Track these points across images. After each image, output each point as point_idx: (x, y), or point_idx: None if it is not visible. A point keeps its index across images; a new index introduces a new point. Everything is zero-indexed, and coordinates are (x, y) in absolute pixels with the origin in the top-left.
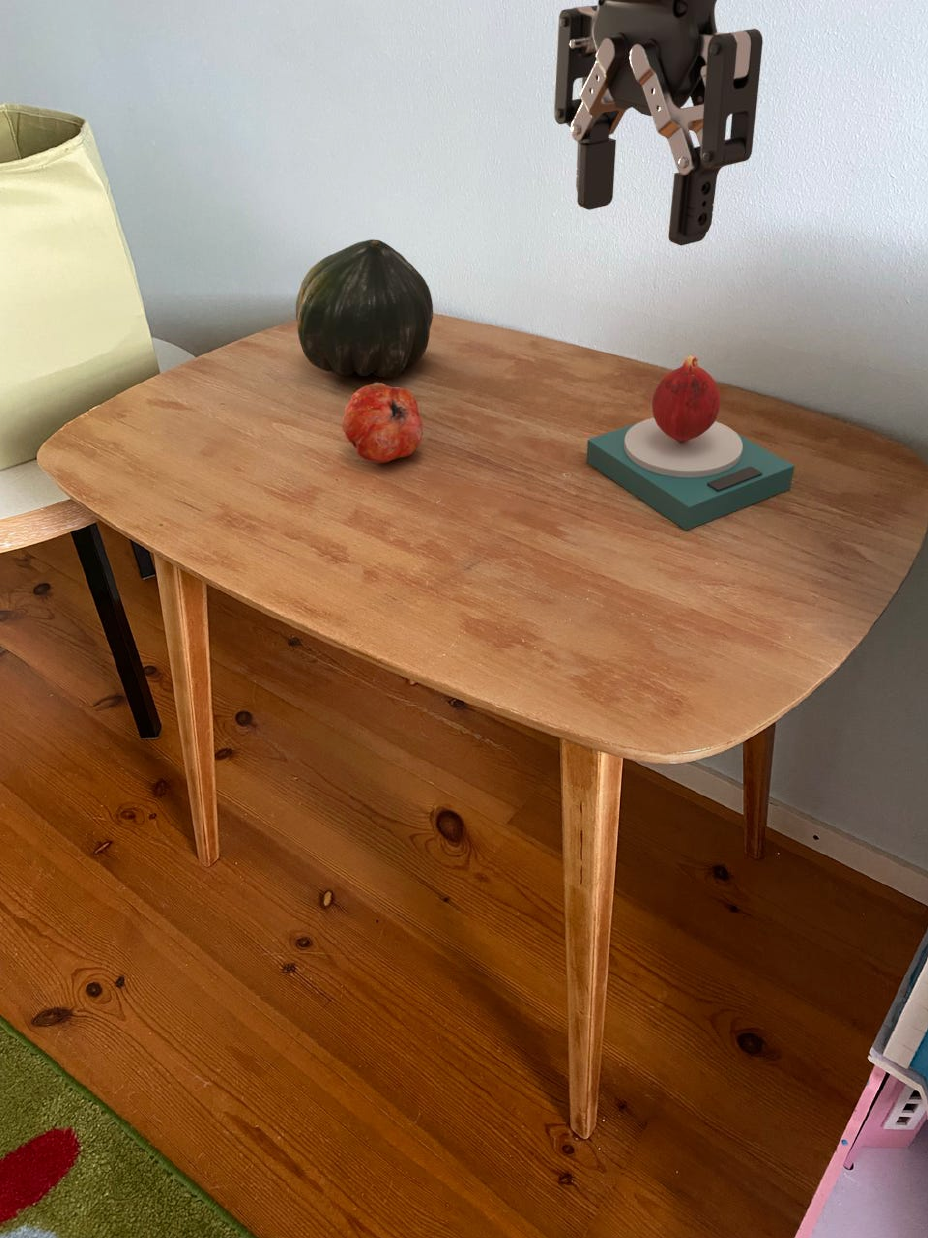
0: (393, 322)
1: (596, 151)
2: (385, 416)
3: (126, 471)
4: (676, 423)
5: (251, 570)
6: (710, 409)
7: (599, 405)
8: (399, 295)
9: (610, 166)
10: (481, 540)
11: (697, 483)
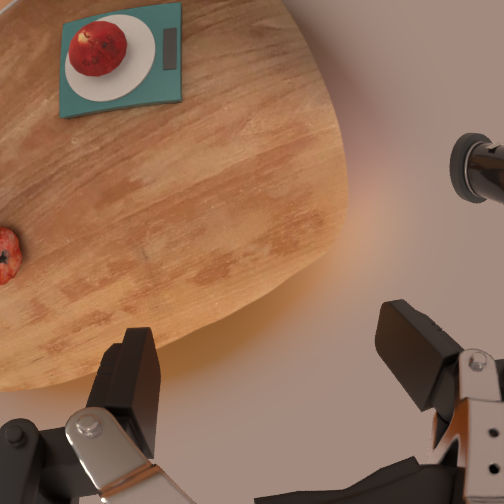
0: None
1: (146, 429)
2: (5, 267)
3: (4, 370)
4: (113, 68)
5: (102, 356)
6: (124, 40)
7: (12, 74)
8: None
9: (142, 375)
10: (120, 235)
11: (157, 74)
